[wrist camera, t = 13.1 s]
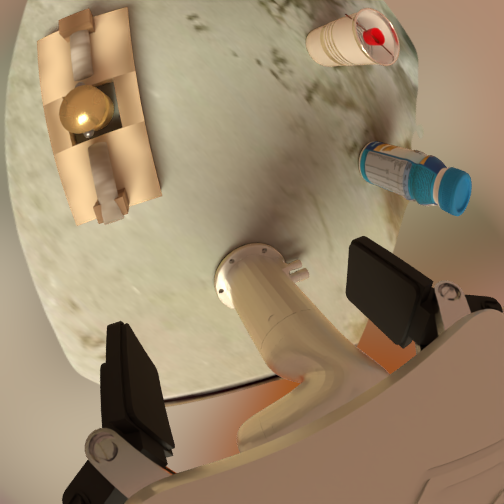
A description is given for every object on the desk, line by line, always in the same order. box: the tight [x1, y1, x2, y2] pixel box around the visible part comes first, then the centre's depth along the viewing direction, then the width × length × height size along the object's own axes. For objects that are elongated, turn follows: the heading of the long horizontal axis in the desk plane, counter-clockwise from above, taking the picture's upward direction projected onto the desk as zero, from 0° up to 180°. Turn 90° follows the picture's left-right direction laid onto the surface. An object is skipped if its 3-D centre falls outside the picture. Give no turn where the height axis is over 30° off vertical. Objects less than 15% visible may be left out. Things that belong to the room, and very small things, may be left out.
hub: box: [59, 82, 114, 138], centre depth 22 cm, size 5×6×8 cm
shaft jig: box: [37, 7, 162, 226], centre depth 22 cm, size 12×26×8 cm, turn 9°
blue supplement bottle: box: [359, 141, 472, 216], centre depth 37 cm, size 8×8×20 cm
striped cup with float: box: [306, 8, 400, 67], centre depth 27 cm, size 10×8×12 cm
